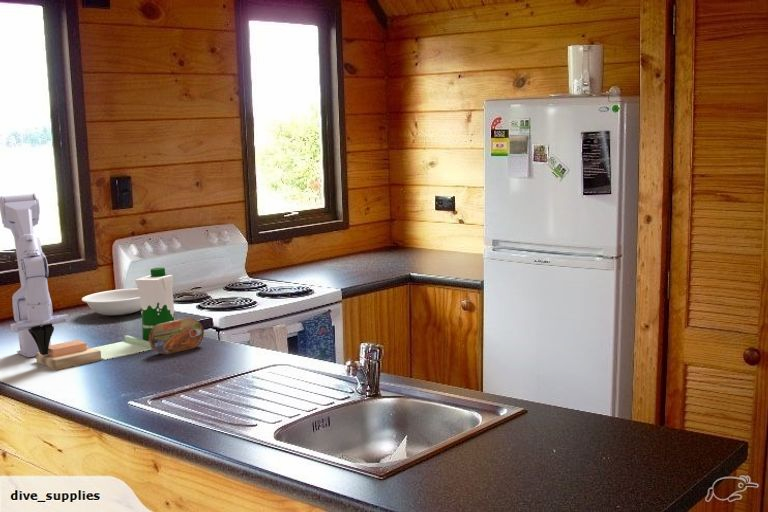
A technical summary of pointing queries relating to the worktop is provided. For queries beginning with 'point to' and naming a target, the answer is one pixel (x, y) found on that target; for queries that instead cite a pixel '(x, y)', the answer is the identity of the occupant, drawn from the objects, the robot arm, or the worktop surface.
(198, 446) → the worktop surface
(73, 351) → the tile
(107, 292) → the soup bowl
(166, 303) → the milk carton
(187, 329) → the tin
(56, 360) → the wooden board
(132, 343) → the mat
